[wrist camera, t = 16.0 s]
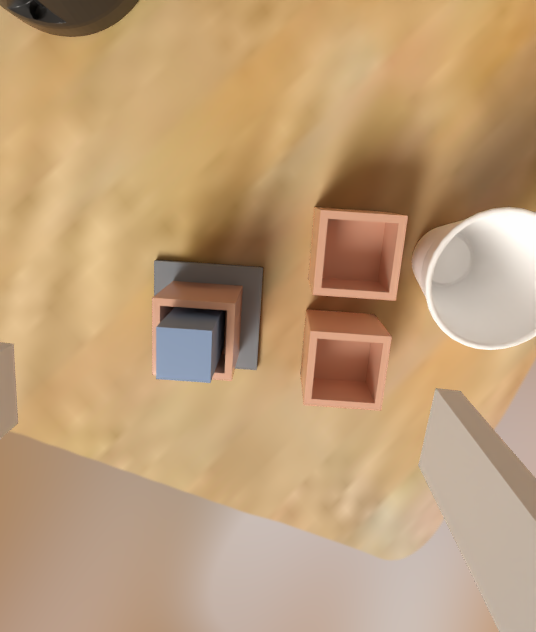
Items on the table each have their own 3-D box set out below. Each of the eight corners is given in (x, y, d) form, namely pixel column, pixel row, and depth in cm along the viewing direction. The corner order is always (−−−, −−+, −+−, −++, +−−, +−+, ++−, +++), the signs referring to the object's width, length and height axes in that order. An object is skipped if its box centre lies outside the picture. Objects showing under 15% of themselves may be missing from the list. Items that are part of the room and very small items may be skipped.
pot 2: (308, 278, 43) (313, 294, 36) (314, 207, 41) (320, 210, 34) (377, 283, 42) (395, 300, 36) (387, 211, 41) (408, 215, 34)
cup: (482, 185, 40) (555, 182, 29) (512, 288, 42) (589, 320, 32) (374, 229, 41) (406, 241, 31) (409, 326, 43) (450, 370, 33)
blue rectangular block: (179, 343, 41) (156, 378, 34) (180, 301, 40) (156, 326, 33) (223, 347, 41) (210, 382, 34) (225, 304, 40) (212, 330, 32)
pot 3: (300, 373, 45) (303, 404, 38) (306, 309, 43) (310, 330, 37) (366, 377, 45) (381, 410, 38) (374, 314, 43) (391, 336, 36)
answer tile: (156, 360, 45) (154, 362, 45) (155, 259, 42) (154, 260, 42) (256, 367, 45) (256, 369, 44) (263, 267, 42) (262, 268, 42)
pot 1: (172, 347, 44) (152, 375, 37) (172, 280, 42) (152, 297, 36) (239, 351, 44) (231, 380, 37) (242, 285, 42) (235, 303, 36)
